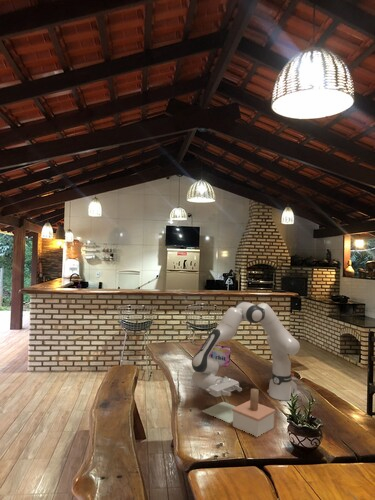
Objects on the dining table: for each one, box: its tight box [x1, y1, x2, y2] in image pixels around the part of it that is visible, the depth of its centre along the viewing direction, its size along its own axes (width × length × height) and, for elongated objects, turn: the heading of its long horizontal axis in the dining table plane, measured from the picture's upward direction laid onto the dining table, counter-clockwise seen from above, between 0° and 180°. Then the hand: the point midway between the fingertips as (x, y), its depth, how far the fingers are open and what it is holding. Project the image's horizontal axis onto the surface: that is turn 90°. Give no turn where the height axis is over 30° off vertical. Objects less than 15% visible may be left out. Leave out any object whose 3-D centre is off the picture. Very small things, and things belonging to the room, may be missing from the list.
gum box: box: [200, 343, 232, 367], centre depth 301 cm, size 24×8×14 cm, turn 61°
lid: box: [232, 388, 277, 422], centre depth 195 cm, size 16×16×13 cm
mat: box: [201, 401, 236, 424], centre depth 211 cm, size 19×19×1 cm
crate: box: [232, 411, 275, 438], centre depth 195 cm, size 15×15×8 cm
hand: (235, 392), depth 204 cm, fingers open, 8 cm apart
